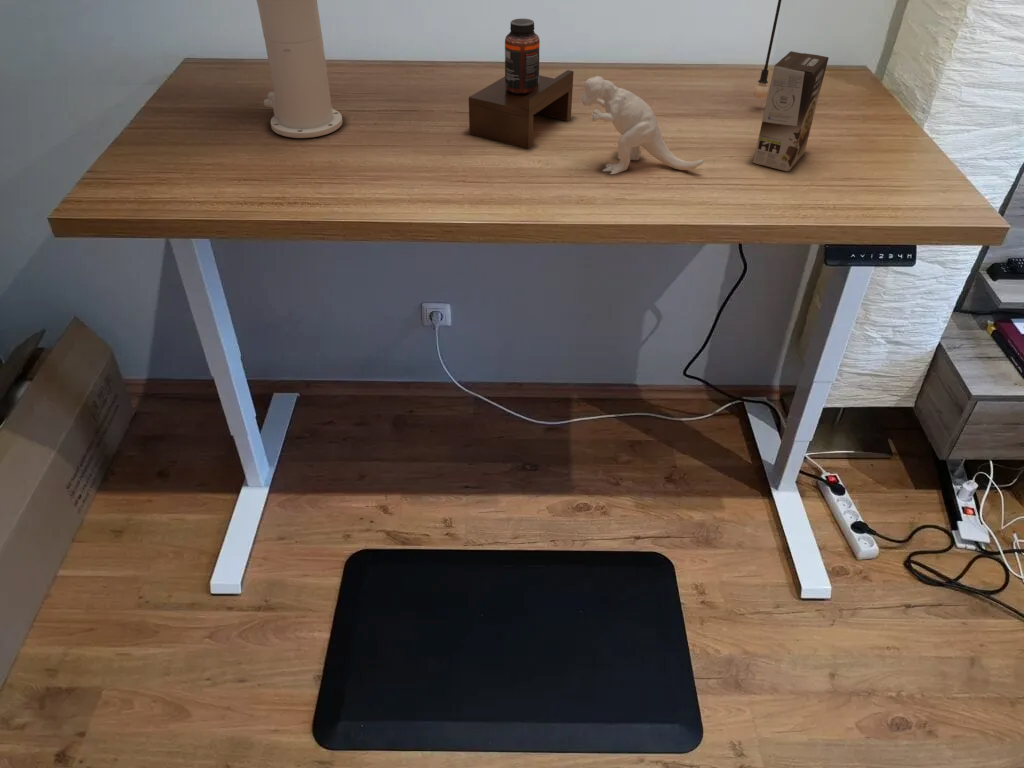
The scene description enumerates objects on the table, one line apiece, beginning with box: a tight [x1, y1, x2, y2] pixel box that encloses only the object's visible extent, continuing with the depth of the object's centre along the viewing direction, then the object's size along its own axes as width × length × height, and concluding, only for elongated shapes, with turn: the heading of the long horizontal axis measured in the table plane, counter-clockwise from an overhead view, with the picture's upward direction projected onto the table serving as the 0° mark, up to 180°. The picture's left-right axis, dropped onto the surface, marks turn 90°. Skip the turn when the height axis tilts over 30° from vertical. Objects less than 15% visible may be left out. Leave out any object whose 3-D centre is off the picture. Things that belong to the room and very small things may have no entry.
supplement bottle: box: [504, 18, 541, 94], centre depth 137 cm, size 6×6×11 cm
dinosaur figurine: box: [581, 75, 704, 175], centre depth 128 cm, size 20×10×15 cm, turn 79°
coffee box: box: [752, 50, 829, 172], centre depth 130 cm, size 9×6×16 cm
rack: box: [468, 69, 574, 150], centre depth 142 cm, size 12×16×9 cm
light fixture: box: [753, 0, 782, 99], centre depth 145 cm, size 7×7×25 cm
